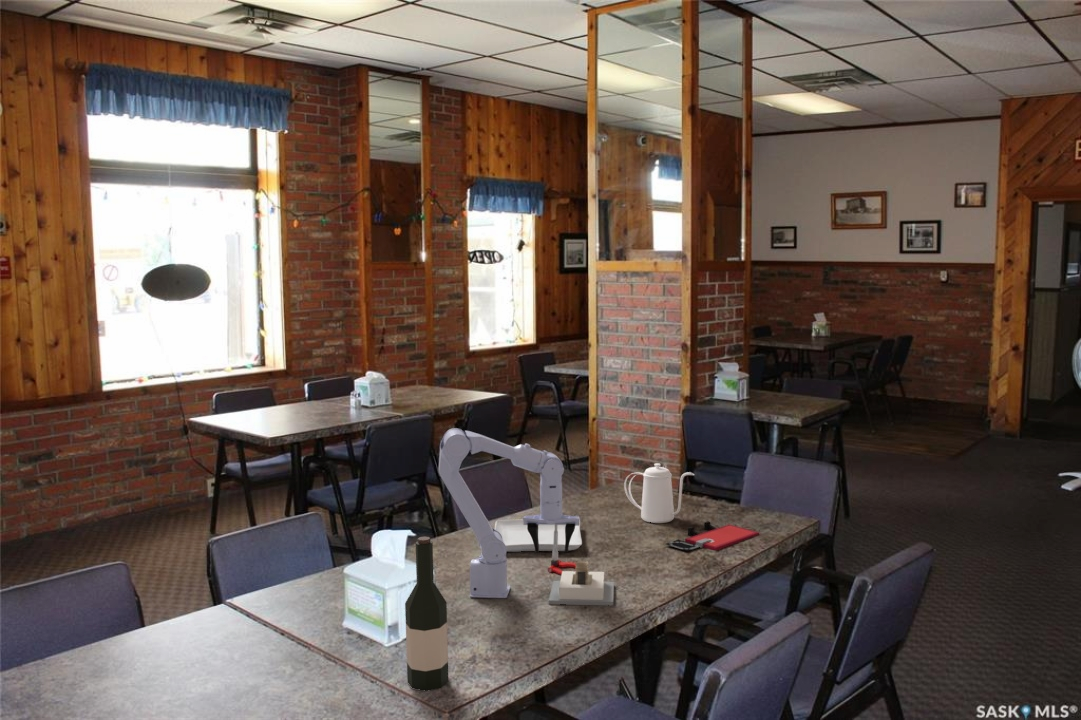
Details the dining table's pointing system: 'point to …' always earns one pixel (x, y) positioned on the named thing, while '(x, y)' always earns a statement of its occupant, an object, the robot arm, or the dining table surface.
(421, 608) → the wine bottle
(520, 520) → the square plate
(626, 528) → the dining table surface
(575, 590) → the slotted block
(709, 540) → the red board with handle
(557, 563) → the tow hook
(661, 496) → the coffeepot
